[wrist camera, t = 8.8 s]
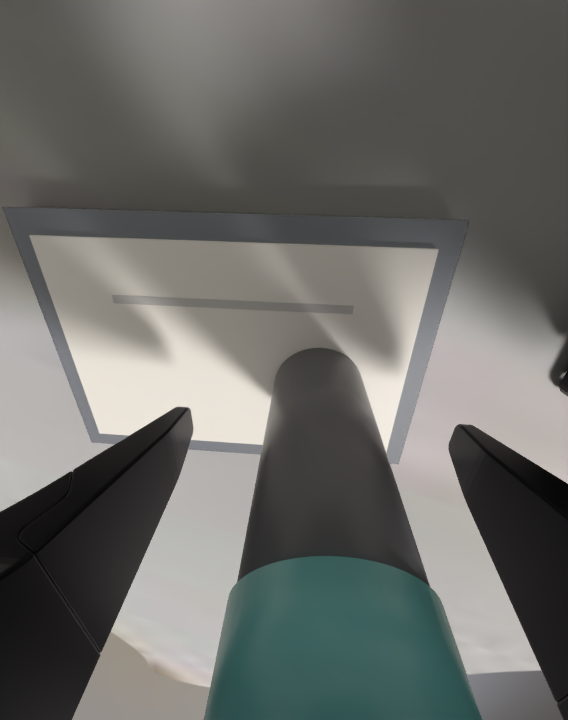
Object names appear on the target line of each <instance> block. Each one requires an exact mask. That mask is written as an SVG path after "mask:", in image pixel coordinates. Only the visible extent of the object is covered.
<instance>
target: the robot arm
mask: <svg viewBox="0 0 568 720" xmlns="http://www.w3.org/2000/svg"><path fill="white" fill-rule="evenodd" d="M559 388H560V391H561V392H562V393H564V394H565V395H566V396H568V371H567V373H566V374H565V376H564V378H563V380H562V382H561V384H560V387H559ZM192 435H193V421H192V415H191V410H190V408H188V407H175V408H174V409H172V410H170V411H169V412H167V413H165V414H164V415H162V416H161V417H159V418H157V419H156V420H154V421H152V422H151V423H149V424H147V425H146V426H144V427H143V428H141V429H139V430H138V431H136V432H134V433H133V434H131V435H129V436H128V437H126V438H125V439H123V440H121V441H120V442H118V443H116V444H115V445H113V446H111V447H110V448H108V449H107V450H105V451H103V452H102V453H100V454H98V455H97V456H95V457H93V458H92V459H90V460H89V461H87V462H85V463H84V464H82V465H80V466H79V467H77V468H75V469H74V470H73V472H72V471H71V472H69V473H67V474H66V475H64V476H62V477H61V478H59V479H57V480H56V481H54V482H52V483H51V484H49V485H47V486H46V487H44V488H42V489H40V490H39V491H37V492H35V493H34V494H32V495H30V496H28V497H26V498H25V499H23V500H21V501H19V502H17V503H16V504H14V505H12V506H10V507H8V508H7V509H5V510H3V511H1V512H0V720H72V718H73V716H74V713H75V711H76V709H77V706H78V704H79V702H80V700H81V698H82V695H83V693H84V691H85V689H86V686H87V684H88V682H89V680H90V677H91V675H92V673H93V671H94V668H95V666H96V664H97V661H98V659H99V657H100V652H101V651H102V650H103V647H104V645H105V643H106V641H107V638H108V636H109V634H110V632H111V629H112V627H113V625H114V623H115V620H116V618H117V616H118V614H119V611H120V609H121V607H122V605H123V602H124V600H125V598H126V596H127V593H128V591H129V589H130V587H131V584H132V582H133V580H134V578H135V575H136V573H137V571H138V569H139V566H140V564H141V562H142V560H143V557H144V555H145V553H146V551H147V548H148V546H149V544H150V541H151V539H152V537H153V535H154V532H155V530H156V528H157V526H158V523H159V521H160V519H161V517H162V514H163V512H164V510H165V508H166V505H167V503H168V501H169V499H170V496H171V494H172V492H173V490H174V487H175V485H176V483H177V480H178V478H179V475H180V472H181V470H182V466H183V463H184V460H185V457H186V454H187V451H188V447H189V444H190V441H191V438H192ZM449 453H450V456H451V459H452V462H453V465H454V468H455V471H456V474H457V477H458V480H459V483H460V486H461V489H462V492H463V495H464V498H465V500H466V502H467V505H468V507H469V509H470V512H471V514H472V516H473V518H474V521H475V523H476V525H477V527H478V529H479V532H480V534H481V536H482V538H483V541H484V543H485V545H486V547H487V550H488V552H489V554H490V556H491V558H492V561H493V563H494V565H495V567H496V570H497V572H498V574H499V576H500V579H501V581H502V583H503V585H504V587H505V590H506V592H507V594H508V596H509V599H510V601H511V603H512V605H513V608H514V610H515V612H516V614H517V616H518V619H519V621H520V623H521V625H522V628H523V630H524V632H525V634H526V637H527V639H528V641H529V643H530V645H531V648H532V650H533V652H534V654H535V657H536V659H537V661H538V663H539V666H540V668H541V670H542V672H543V674H544V676H545V679H546V681H547V683H548V685H549V688H550V690H551V692H552V694H553V697H554V699H555V701H557V706H558V708H559V711H560V713H561V715H562V717H563V719H564V720H568V484H567V483H566V482H564V481H562V480H561V479H559V478H557V477H556V476H554V475H553V474H551V473H549V472H548V471H546V470H544V469H543V468H541V467H540V466H538V465H536V464H535V463H533V462H531V461H530V460H528V459H527V458H525V457H523V456H522V455H520V454H518V453H517V452H515V451H514V450H512V449H510V448H509V447H507V446H505V445H504V444H502V443H501V442H499V441H497V440H496V439H494V438H492V437H491V436H489V435H488V434H486V433H484V432H483V431H481V430H479V429H478V428H476V427H475V426H473V425H464V424H459V425H457V426H456V427H455V429H454V432H453V434H452V437H451V440H450V442H449Z"/></svg>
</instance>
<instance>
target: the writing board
mask: <svg viewBox="0 0 568 720" xmlns="http://www.w3.org/2000/svg"><path fill="white" fill-rule="evenodd" d="M3 210H4V212H5V215H6V218H7V220H8V223H9V226H10V228H11V231H12V234H13V236H14V239H15V241H16V244H17V247H18V249H19V252H20V255H21V257H22V260H23V263H24V265H25V268H26V271H27V273H28V276H29V278H30V281H31V284H32V286H33V289H34V292H35V294H36V297H37V300H38V302H39V305H40V307H41V310H42V313H43V315H44V318H45V321H46V323H47V326H48V329H49V331H50V334H51V337H52V339H53V342H54V344H55V347H56V350H57V352H58V355H59V358H60V360H61V363H62V366H63V368H64V371H65V373H66V376H67V379H68V381H69V384H70V387H71V389H72V392H73V395H74V397H75V400H76V402H77V405H78V408H79V410H80V413H81V416H82V418H83V421H84V424H85V426H86V429H87V432H88V434H89V437H90V439H91V442H93V443H107V444H116V443H118V442H120V441H121V440H123V439H125V438H126V437H128V436H129V435H131V434H133V433H134V432H136V431H138V430H139V429H141V428H143V427H144V426H146V425H147V424H149V423H151V422H152V421H154V420H156V419H157V418H159V417H161V416H162V415H164V414H165V413H167V412H169V411H170V410H172V409H174V408H175V407H188V408H190V410H191V415H192V421H193V435H192V438H191V441H190V444H189V447H188V449H192V450H206V451H220V452H234V453H248V454H261V452H262V446H263V441H264V436H265V430H266V425H267V420H268V414H269V409H270V403H271V398H272V393H273V387H274V382H275V377H276V374H277V372H278V370H279V368H280V366H281V365H282V364H283V362H284V361H285V360H287V359H288V358H289V357H290V356H292V355H293V354H295V353H297V352H299V351H302V350H305V349H310V348H328V349H332V350H335V351H338V352H340V353H342V354H344V355H346V356H347V357H348V358H350V359H351V360H352V361H353V362H354V364H355V365H356V366H357V368H358V370H359V372H360V374H361V377H362V380H363V383H364V386H365V390H366V393H367V396H368V399H369V402H370V405H371V408H372V411H373V414H374V417H375V420H376V423H377V426H378V429H379V432H380V435H381V438H382V442H383V445H384V448H385V451H386V454H387V457H388V460H389V463H390V464H399V461H400V457H401V454H402V450H403V447H404V443H405V440H406V437H407V433H408V430H409V426H410V423H411V419H412V416H413V413H414V409H415V406H416V402H417V399H418V396H419V392H420V389H421V385H422V382H423V378H424V375H425V372H426V368H427V365H428V361H429V358H430V354H431V351H432V348H433V344H434V341H435V337H436V334H437V330H438V327H439V324H440V320H441V317H442V313H443V310H444V306H445V303H446V300H447V296H448V293H449V289H450V286H451V283H452V279H453V276H454V272H455V269H456V265H457V262H458V259H459V255H460V252H461V248H462V245H463V241H464V238H465V235H466V231H467V228H468V224H469V221H467V220H451V219H417V218H383V217H349V216H314V215H280V214H246V213H212V212H178V211H144V210H110V209H76V208H41V207H3Z"/></svg>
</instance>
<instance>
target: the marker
mask: <svg viewBox="0 0 568 720" xmlns="http://www.w3.org/2000/svg"><path fill="white" fill-rule="evenodd" d="M204 720H482V718H481V715H480V712H479V709H478V706H477V703H476V700H475V698H474V695H473V692H472V688H471V686H470V683H469V680H468V677H467V674H466V671H465V668H464V665H463V662H462V659H461V657H460V654H459V651H458V648H457V645H456V642H455V639H454V636H453V633H452V630H451V627H450V625H449V622H448V619H447V616H446V613H445V610H444V607H443V605H442V602H441V600H440V598H439V597H438V595H437V594H436V593H435V591H434V590H433V589H431V588H430V585H429V582H428V579H427V576H426V573H425V570H424V567H423V564H422V561H421V558H420V555H419V552H418V549H417V546H416V543H415V539H414V536H413V533H412V530H411V527H410V524H409V521H408V518H407V515H406V512H405V509H404V506H403V503H402V500H401V497H400V494H399V491H398V487H397V484H396V481H395V478H394V475H393V472H392V469H391V466H390V463H389V460H388V457H387V454H386V451H385V448H384V445H383V442H382V438H381V435H380V432H379V429H378V426H377V423H376V420H375V417H374V414H373V411H372V408H371V405H370V402H369V399H368V396H367V393H366V390H365V386H364V383H363V380H362V377H361V374H360V372H359V370H358V368H357V366H356V365H355V364H354V362H353V361H352V360H351V359H350V358H348V357H347V356H346V355H344V354H342V353H340V352H338V351H335V350H332V349H328V348H310V349H305V350H302V351H299V352H297V353H295V354H293V355H292V356H290V357H289V358H288V359H287V360H285V361H284V362H283V364H282V365H281V366H280V368H279V370H278V372H277V374H276V377H275V382H274V387H273V393H272V398H271V403H270V409H269V414H268V420H267V425H266V430H265V436H264V441H263V446H262V452H261V457H260V463H259V468H258V473H257V479H256V484H255V489H254V495H253V500H252V506H251V511H250V516H249V522H248V527H247V532H246V538H245V543H244V549H243V554H242V559H241V565H240V570H239V575H238V581H237V583H236V584H235V586H234V587H233V588H232V590H231V592H230V594H229V598H228V602H227V607H226V612H225V617H224V622H223V627H222V632H221V637H220V642H219V647H218V652H217V657H216V662H215V667H214V672H213V677H212V682H211V687H210V692H209V696H208V701H207V706H206V712H205V716H204Z"/></svg>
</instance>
